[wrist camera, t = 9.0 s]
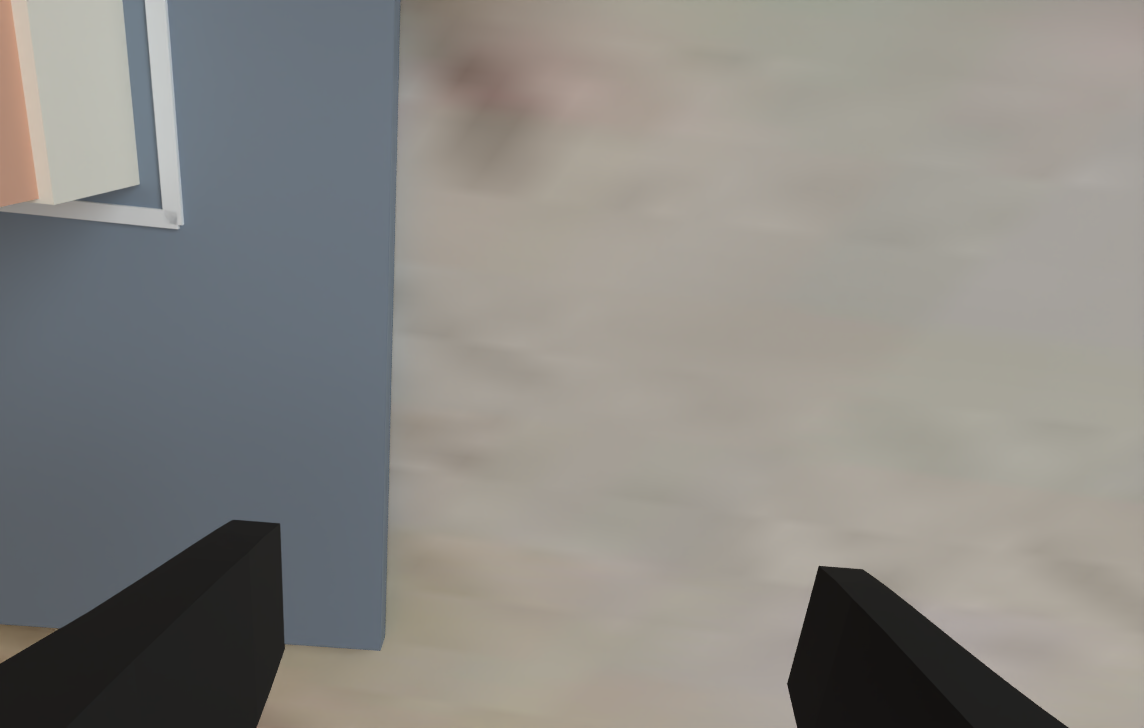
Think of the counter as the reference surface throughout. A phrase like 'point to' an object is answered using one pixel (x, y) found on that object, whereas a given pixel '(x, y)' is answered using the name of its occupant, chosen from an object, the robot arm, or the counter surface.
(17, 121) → the terracotta block
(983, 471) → the counter surface
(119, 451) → the board
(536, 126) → the counter surface
